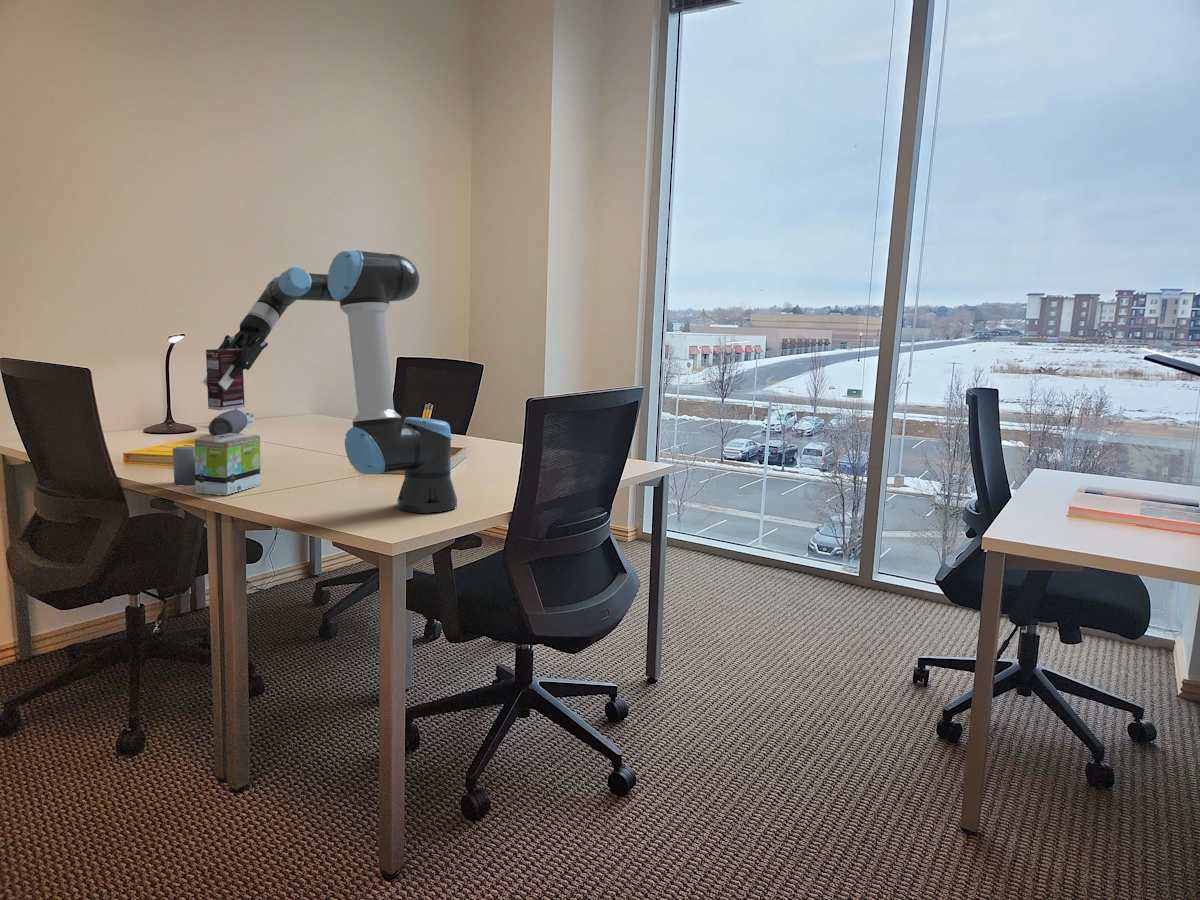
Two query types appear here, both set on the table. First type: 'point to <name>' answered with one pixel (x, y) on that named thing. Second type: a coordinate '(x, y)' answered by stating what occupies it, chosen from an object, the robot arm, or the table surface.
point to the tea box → (227, 463)
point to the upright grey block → (184, 465)
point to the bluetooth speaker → (228, 423)
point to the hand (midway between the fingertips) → (214, 385)
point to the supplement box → (216, 369)
